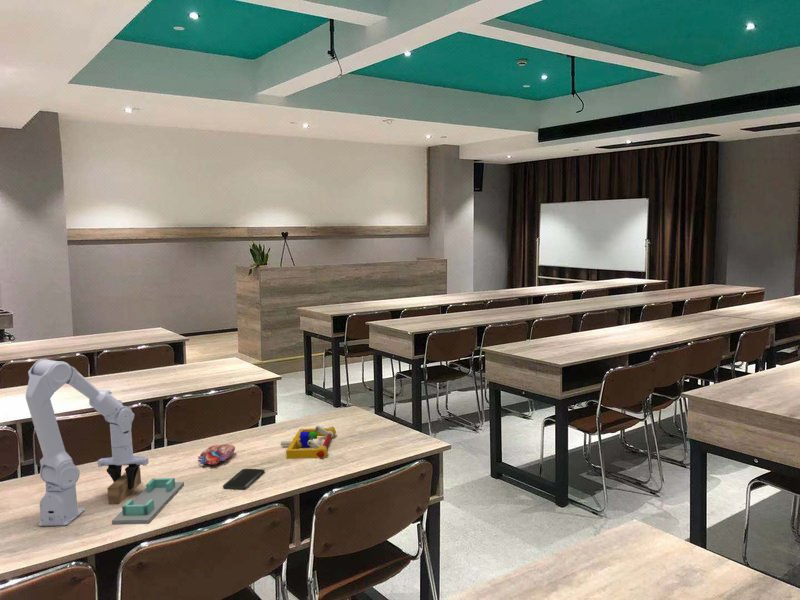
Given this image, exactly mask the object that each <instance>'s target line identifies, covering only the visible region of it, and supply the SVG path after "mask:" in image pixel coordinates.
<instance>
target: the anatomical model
mask: <svg viewBox="0 0 800 600" xmlns="http://www.w3.org/2000/svg"><path fill="white" fill-rule="evenodd" d="M235 450H236V446H234V445H233V444H229V443H228V444H227V443H226V444H216V445H211V446H209V447H206V448H205V449H204V450H203V451H202V452H201V453H200V455H198V456H197V462H198V463H201V464H203V465H204V464H207V465H217V464H219V463H222V462H223V461H226V460H227V459H229V458H231V457H232V455H233V454H234V452H235Z"/></svg>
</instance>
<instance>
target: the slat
mask: <svg viewBox="0 0 800 600" xmlns="http://www.w3.org/2000/svg"><path fill="white" fill-rule="evenodd" d="M141 483H142V477H141V466H140V467H139V469H138V471H137V474H136V477H135V482H134V487H133V488H132V489H131V490H129V488H128V479H127V474H126V471H125V472H124V473H123V474H121V477H119V478H118V479H117V480H116V481H115V482H113V483H111V484H110V485H109V486H108V487H107V500H108V505H120V504H121V503H122V502H123V501H124V500H125V499H126V498H127V497H128V496H129V495H130V494H131V493H133V491H134V490H135V489H136V488H137V487H138V486H139V485H140V484H141ZM122 500H123V501H122ZM121 501H122V502H121ZM120 502H121V503H120ZM119 503H120V504H119Z"/></svg>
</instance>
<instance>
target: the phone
mask: <svg viewBox="0 0 800 600" xmlns="http://www.w3.org/2000/svg"><path fill="white" fill-rule="evenodd" d="M265 471H266V470H265V469H263V468H262V469H261V468H260V469H259V468H242V469H241V470H240V471H239V472H237V473H236V474H235V475H234V476H232V477H231V478H229V480H228V481H226V482H225V483H224V484H223V485H222V489H223V490H231V489H233V490H235V491H245V490H246V491H247V489H249V488H250V487H251V486H252V485H253V484H254V483H256V481H257V480H259V479H260V478H261V477H262V476H263V475H264V474H265Z"/></svg>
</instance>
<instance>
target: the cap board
mask: <svg viewBox="0 0 800 600" xmlns="http://www.w3.org/2000/svg"><path fill="white" fill-rule="evenodd" d="M183 485H184V486H185V482H184V481H175V477H163V478H162V477H159V478H156V477H155V478H151V479H150V480H149V481H148V482H147V483H146V485H145V487H146V488H145V489H144V490H143V491H141V492H140V493H139V494H138V495H136V497H135V498H134V499H128V500H127V502H125V503H124V504H122V507H121V509H122V510H121V511H120V512H119V513H118V514H117V515H116V516H115V517H114V518H113V519H112V520H111V524H112V525H129V524H131V525H133V524H135V525H136V524H138V525H139V524H150V523H151V522H152V521H153V520H154V519H155V517H156V516H157V515H158V514H159V513H160V512H161V511H162V510H163V509H162V508H165V507H166V505H167V504H168V503H169V502H170V501H171V500H172V499H173V498H174V497H175V496H176V495H177V494H178V493H179V491H180V490H181V489H182V488H183V487H184V486H183ZM182 486H183V487H182ZM173 496H174V497H173ZM172 497H173V498H172Z"/></svg>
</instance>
